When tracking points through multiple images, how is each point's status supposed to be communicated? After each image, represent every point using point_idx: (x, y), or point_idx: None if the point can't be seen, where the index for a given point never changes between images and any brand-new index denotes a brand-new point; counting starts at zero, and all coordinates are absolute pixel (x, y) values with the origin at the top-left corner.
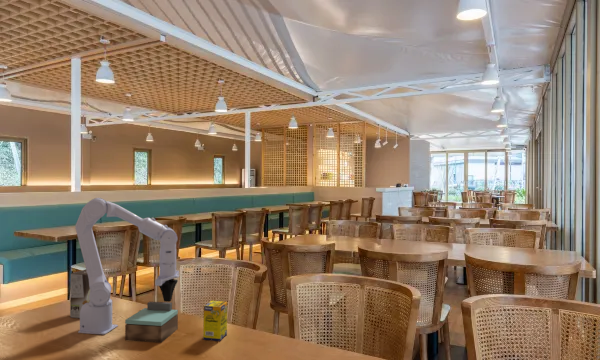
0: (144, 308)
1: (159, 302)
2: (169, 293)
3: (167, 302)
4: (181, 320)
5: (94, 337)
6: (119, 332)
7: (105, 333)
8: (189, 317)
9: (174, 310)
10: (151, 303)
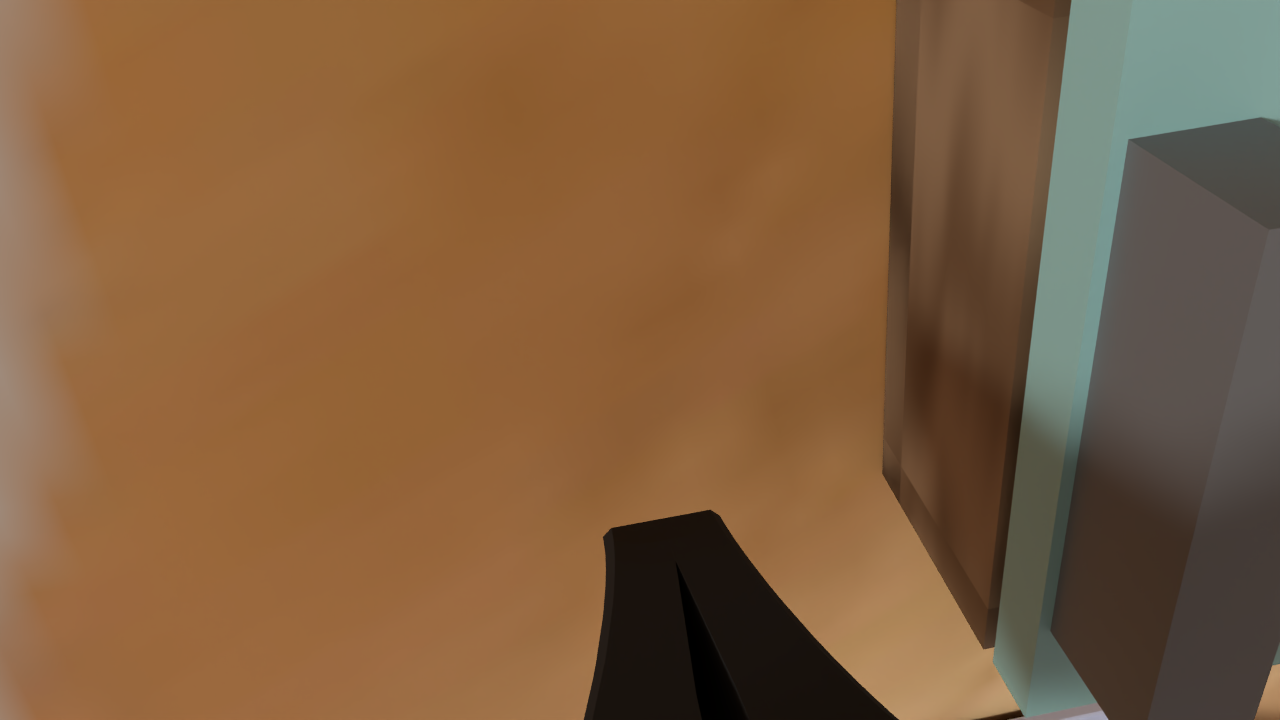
0: (1049, 704)
1: (1230, 551)
2: (842, 691)
3: (1239, 369)
4: (396, 94)
5: None
6: None
7: None
8: (136, 28)
9: (1198, 26)
10: (1269, 658)
